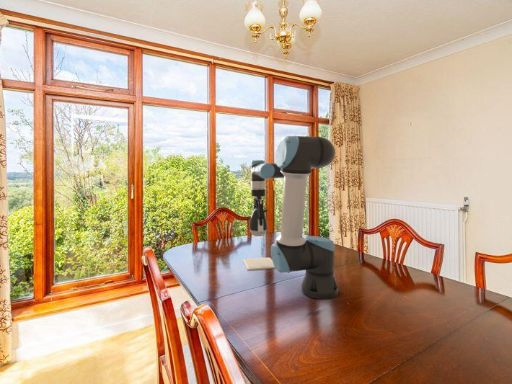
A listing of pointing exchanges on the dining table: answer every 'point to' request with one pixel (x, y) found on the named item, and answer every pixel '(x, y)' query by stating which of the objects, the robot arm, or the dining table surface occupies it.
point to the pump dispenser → (254, 224)
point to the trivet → (258, 263)
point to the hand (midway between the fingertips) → (258, 229)
